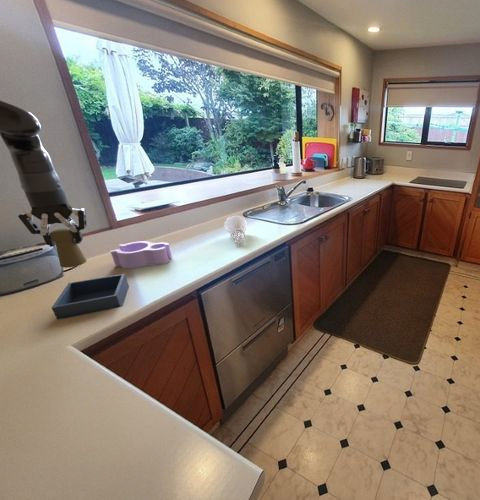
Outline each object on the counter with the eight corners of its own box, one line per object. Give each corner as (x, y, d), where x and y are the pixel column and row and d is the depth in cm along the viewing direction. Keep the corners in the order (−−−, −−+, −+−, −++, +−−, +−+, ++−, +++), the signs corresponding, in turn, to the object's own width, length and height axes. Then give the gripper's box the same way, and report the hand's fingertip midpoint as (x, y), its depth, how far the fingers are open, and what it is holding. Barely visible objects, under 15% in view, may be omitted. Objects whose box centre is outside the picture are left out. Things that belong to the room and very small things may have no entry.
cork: (60, 269, 83) (45, 234, 78) (60, 262, 87) (46, 228, 82) (87, 264, 87) (74, 230, 82) (86, 257, 91) (74, 225, 86)
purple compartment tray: (175, 253, 131) (172, 240, 128) (165, 266, 120) (161, 251, 117) (127, 255, 127) (122, 242, 124) (111, 269, 116) (106, 254, 113)
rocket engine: (239, 229, 135) (235, 211, 148) (222, 244, 136) (219, 225, 149) (257, 242, 144) (251, 224, 156) (240, 256, 145) (236, 237, 157)
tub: (58, 322, 86) (51, 308, 84) (74, 296, 98) (68, 282, 96) (121, 309, 93) (116, 295, 90) (129, 286, 105) (124, 273, 103)
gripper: (81, 183, 83) (99, 236, 90) (12, 186, 77) (38, 243, 84) (73, 189, 77) (93, 245, 84) (-2, 192, 71) (27, 253, 78)
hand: (66, 244), depth 84 cm, fingers closed on cork, 5 cm apart
